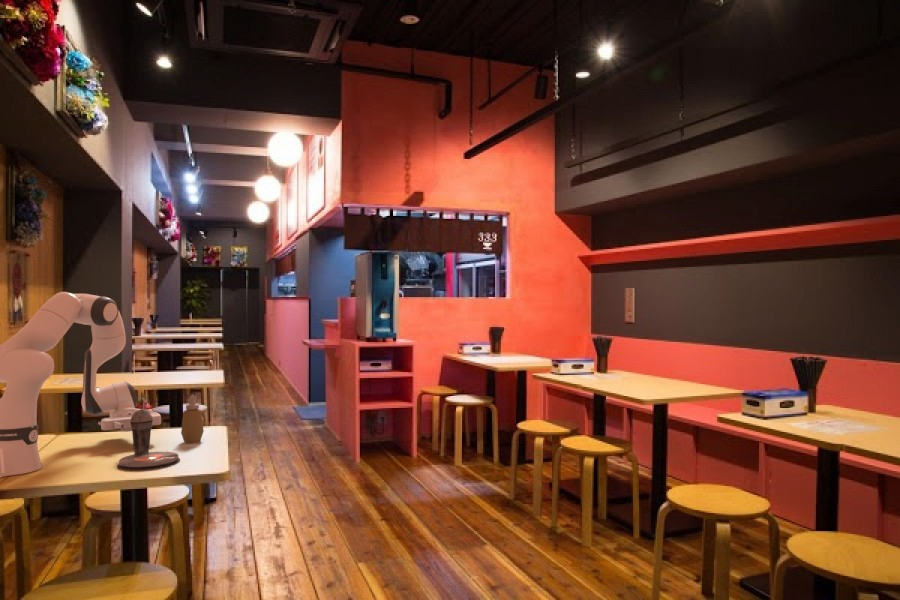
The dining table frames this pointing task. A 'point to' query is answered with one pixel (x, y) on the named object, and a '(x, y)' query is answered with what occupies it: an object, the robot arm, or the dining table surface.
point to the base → (148, 468)
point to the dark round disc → (148, 460)
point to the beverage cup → (141, 430)
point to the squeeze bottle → (192, 422)
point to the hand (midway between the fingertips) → (135, 424)
